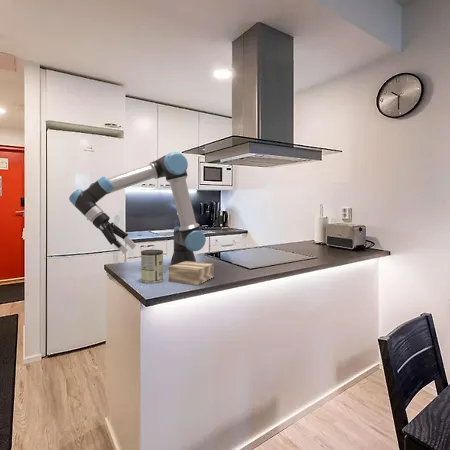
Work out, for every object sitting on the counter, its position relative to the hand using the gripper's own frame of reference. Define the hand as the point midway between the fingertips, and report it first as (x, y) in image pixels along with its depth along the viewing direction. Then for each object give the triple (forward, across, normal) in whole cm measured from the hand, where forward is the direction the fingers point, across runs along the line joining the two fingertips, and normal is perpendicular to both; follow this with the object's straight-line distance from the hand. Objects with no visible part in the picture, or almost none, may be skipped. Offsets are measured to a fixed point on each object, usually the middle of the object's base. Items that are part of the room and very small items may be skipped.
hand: (130, 249), depth 146 cm
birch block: (+31, -2, +10) cm, 32 cm away
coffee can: (+18, 0, -3) cm, 18 cm away
